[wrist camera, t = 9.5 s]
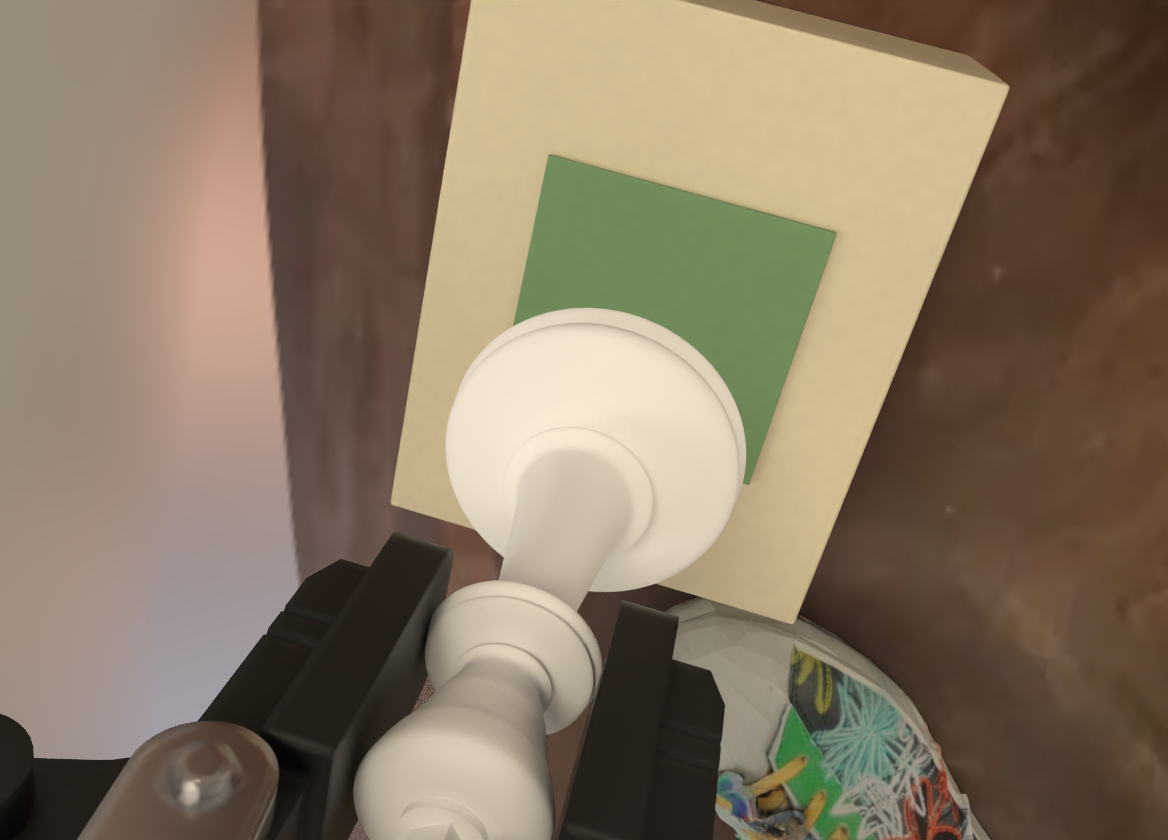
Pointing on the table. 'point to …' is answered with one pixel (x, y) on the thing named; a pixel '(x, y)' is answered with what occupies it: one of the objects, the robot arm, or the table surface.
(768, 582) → the box with green top
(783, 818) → the sneaker
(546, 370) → the chess piece
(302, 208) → the table surface
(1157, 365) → the table surface
